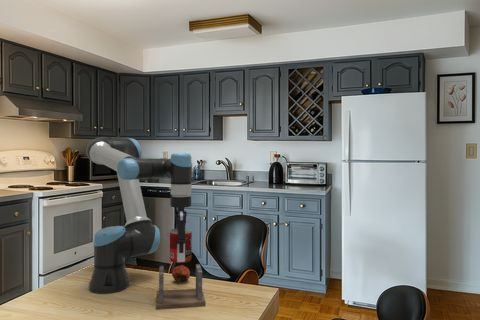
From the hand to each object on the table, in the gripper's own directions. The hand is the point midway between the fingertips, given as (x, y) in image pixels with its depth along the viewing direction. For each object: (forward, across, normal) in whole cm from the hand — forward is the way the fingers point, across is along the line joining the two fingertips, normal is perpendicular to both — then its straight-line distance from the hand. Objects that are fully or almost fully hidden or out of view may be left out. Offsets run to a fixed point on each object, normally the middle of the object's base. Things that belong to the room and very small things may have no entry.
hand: (180, 258), depth 138 cm
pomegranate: (+15, -20, +1) cm, 25 cm away
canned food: (+1, 0, 0) cm, 1 cm away
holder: (+15, 0, 0) cm, 15 cm away
